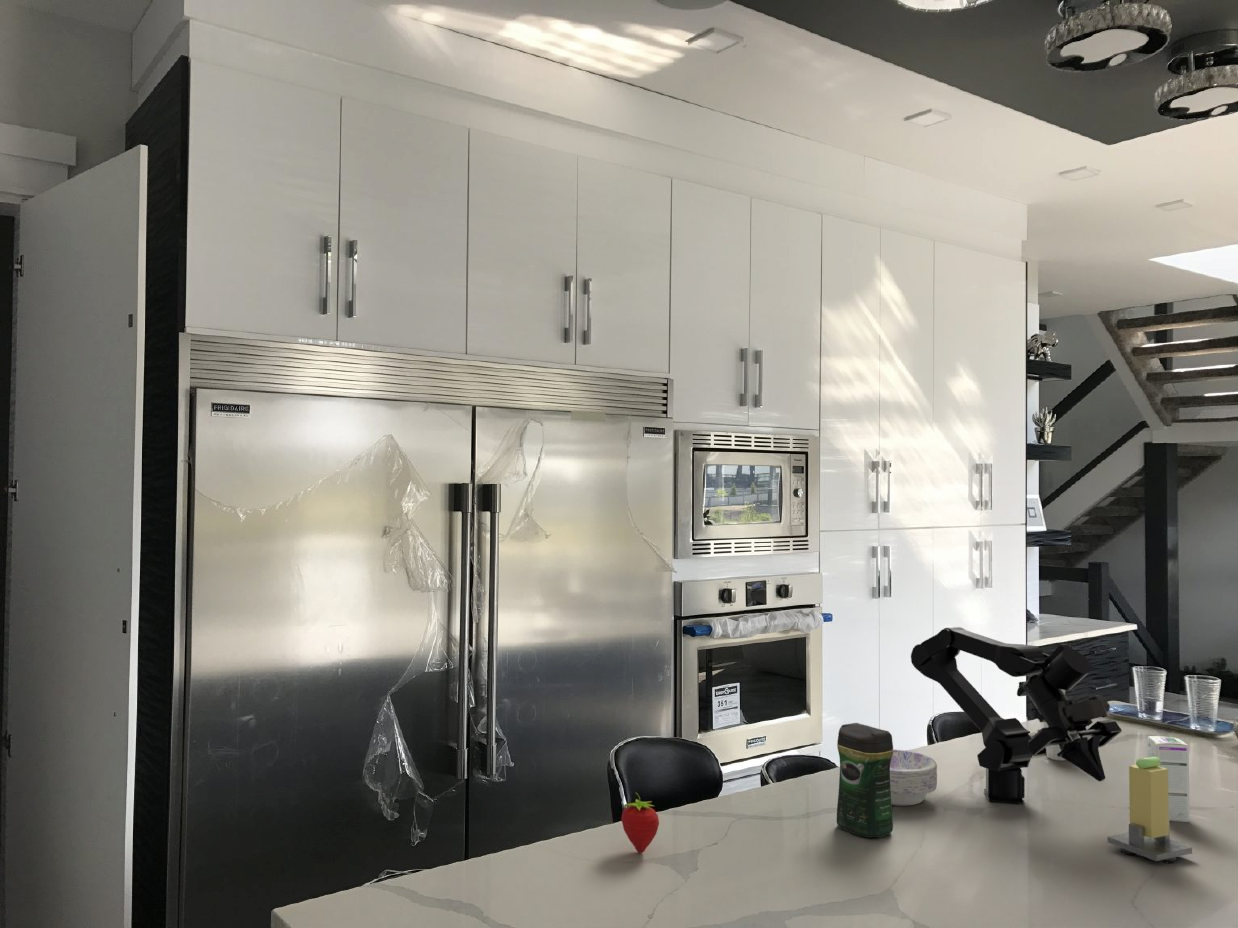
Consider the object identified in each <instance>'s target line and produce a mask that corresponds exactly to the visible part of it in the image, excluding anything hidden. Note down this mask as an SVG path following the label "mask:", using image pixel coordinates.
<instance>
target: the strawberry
mask: <svg viewBox="0 0 1238 928" xmlns="http://www.w3.org/2000/svg"><path fill="white" fill-rule="evenodd" d="M635 794H636V795H637V796H638V799H637V798H635V801H634V802H630V803H629V802H628V803H625V804H623V805H622V807H626V808H624V810H622V812H621V813H622V815H621V818H620V819H621V823H622V827H623V831H624V833H625V834H626V835H625V836H627V838H628V839H629V842H630V843H631V844H632V846H633V847H634V849H635V850H636V852H637V853H638V854H642V853H644V852H645V851H646V849H647V848H648V847H649V845H651V843H652V841H653V840H654V838H656V837H655V836H657V833H658V828H659V825H660V820H659V815H658V813H657V812H656V810H655V809H653V808H652V807H655V805H653V804H651V803H652V802H653V801H652V800H650V801H649V800H648V801H641V797H640V795H639V794H638V793H637V792H635Z"/></svg>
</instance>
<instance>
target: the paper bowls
mask: <svg viewBox="0 0 1238 928" xmlns="http://www.w3.org/2000/svg"><path fill="white" fill-rule="evenodd" d="M937 771H938V764H937V761H936V760H935V759H934V758H932V757H931V756H928V755H925V754H923V753H919V752H915V751H909V750H903V749H894V748H893V755H892V758H891V763H890V788H891V803H892V806H899V807H900V806H906V807H908V806H914V805H918V804H920V803H922V802H923V801H924V800H925V799H926V796H927V794H931V793H932V792H935V790H937V787H938V772H937Z"/></svg>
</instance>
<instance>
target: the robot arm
mask: <svg viewBox="0 0 1238 928" xmlns="http://www.w3.org/2000/svg"><path fill="white" fill-rule="evenodd" d="M960 652H964V653H967V654H970V655H973V656H976V657H978V658H980V659H985V660H987V661H989V662H992V663H993V664H995V665H996V667H997V668H998V669H999V670H1001V671H1002V672H1004V673H1006V674H1007V675H1009V676H1010V677H1013V678H1018V677H1019V678H1020V677H1021V678H1022V677H1027V676H1028V677H1029V678H1028V679H1027V680H1026V681H1025V680H1024V681H1019V682H1018V687H1017V691H1016V695H1017V697H1026V696H1027V697H1029V698H1030V700H1031V702H1032V703H1033V704H1034V706H1035V708H1036V709H1037V711H1038V713H1039V716H1037V719H1038V722H1039V723H1043V722H1046V723H1047V725H1048V726H1049V727H1046V728H1044V727H1042V728H1040V729H1039V731H1037V732H1036V733H1035V734H1034V735H1033V736H1031V735H1030V734H1031V731H1029V730H1028V729H1026V728H1025V727H1024V726H1023V724H1022V723H1021V721H1020V720H1018V718H1016V717H1011V718H1003V717H1002V716H1001V715H1000V714H999V713H998V712H997V711H996V710H995V709H994V707H992V706H991V704H990V703H988V701H987V699H985V698H984V696H982V695H981V693H980V692H979V691H978V690H977V689H976V688H975V687H974V686H973V685H972V684H971V682H970V681H969V680H968V679H967V678H966V677H965V675H963V673H961V671H960V670H959V668H958V664H957V658H956V657H957V656H959V654H960ZM910 662H911V665H912V666H913V667H914V668H915V670H916V671H918V672H919V673H920V674H921V675H923V676H924V677H926V678H928V679H929V680H930V679H931V680H932V681H935V682H936V683H938V684H939V685H940V686H941V687H942V688H943V689H944V691H946V693H947V694H948V695H949V696H950V697H951V698H952V699H953V701H954V702H955V703H956V704H957V706H959V708H960V709H961V710H962V711H963V712H964V713H965V714H966V716H967V717H968V718H969V719H970V720H971V722H972V723H973V724H974V725H975V726H976V727H977V729H979V731H980V732H981V736H982V741H983V742H982V743H983V745H984V746H983V747H984V749H982V750H981V751H979V753H978V754H977V761H978V766H980V767H982V768H983V769H985V788H983V792H984V794H985V796H986V798H987V800H988V801H989V802H999V803H1010V804H1021V805H1022V804H1024V799H1025V796H1026V795H1025V794H1026V793H1025V792H1026V791H1025V787H1026V786H1025V784H1026V783H1025V782H1026V781H1025V777H1024V774H1022V773H1023V772H1022V771H1023V770H1022V768H1029V765H1030V762H1031V760H1032V758H1033V757H1041V756H1045V755H1047V750H1046V746H1051V745H1059V746H1060V747H1059V748H1060V750H1061V751H1060V752H1059V753H1058V754H1057V756H1058V757H1062V758H1064V759H1065V760H1064V761H1067V762H1069V763H1070V764H1071V765H1074V766H1076V767H1077V768H1079V769H1080V770H1081V771H1083V772H1084V773H1085V774H1087V775H1089V776H1090V777H1092V778H1093V779H1094V780H1096V781H1097V782H1103V781H1104V780H1106V775H1105V770H1104V768H1103V764H1102V760H1101V756H1100V751H1099V748H1103V747H1104V746H1106V745H1107V744H1108V743H1110V741H1112V740H1114V739H1115V738H1116V737H1117V736H1118V735H1119V734H1121V733H1122V732H1123V731H1122V728H1121V727H1120V725H1119V724H1118V722H1117V721H1116V720H1113V719H1105V720H1097V721H1096V722H1095V723H1094V722H1093V720H1095V719H1098V718H1106V717H1108V712H1110V710H1111V706H1110V705H1111V704H1110V703H1108V701H1107V700H1106V698H1105V697H1104V696H1103V695H1102V694H1097V695H1094V696H1089V698H1088V700H1083V701H1080V702H1078V701H1077V700H1075V699H1068V697H1067V695H1066V693H1065V694H1064V693H1063V691H1062V690H1061V689H1063V690H1065V691H1070V690H1072V689H1073V687H1075V686H1076V685H1077V684H1078V683H1079V682H1080V681H1081V680H1083V679H1084V678H1085V677H1086V676H1087V675H1088V674H1090V673H1091V671H1092V665H1091V663H1090V661H1089V659H1088V658H1087V656H1084V655H1083V654H1082V653H1080V652H1079V651H1077V650H1076V649H1074V648H1072V647H1070V645H1069V644H1068V643H1065V644H1064V643H1063V644H1059V645H1058V646H1056V648H1055V650H1054V651H1053V652H1052V653H1050V655H1049V654H1047V653H1043V650H1042V649H1041V647H1038V646H1037V645H1032V644H1031V645H1030V644H1023V643H1006V642H1003V641H1000V640H997V639H994V638H990V637H988V636H984V635H981V634H979V633H975V632H972V631H969V630H967V629H965V628H963V627H961V626H954V627H945V628H942V629H941V630H940V631H938V633H937V634H935V635H933V636H931V637H930V638H927V639H925V640H924V641H922V642H921V643H919V644H918V643H917V644H916V645H914V646H913V647H912V650H911V653H910ZM1093 723H1094V724H1093ZM1091 724H1092V725H1091ZM1088 726H1090V727H1088ZM1087 727H1088V728H1087Z"/></svg>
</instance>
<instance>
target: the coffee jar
mask: <svg viewBox="0 0 1238 928" xmlns="http://www.w3.org/2000/svg"><path fill="white" fill-rule="evenodd" d="M837 735H838V737H837V741H836V742H837V743H836V745H837V751H838V756H839V780H838V781H839V782H838V783H839V784H838V795H837V806H836V823H837V826H838V827H839V828H840V829H843V830H844V831H847V832H849V833H852V834H855V835H858V836H860V837H864V838H883V837H886V836H888V835H890V834H891V833H893V829H894V828H893V827H894V826H893V825H894V820H893V819H894V818H893V817H894V816H893V807H892V806H893V805H892V803H891V788H890V763H891V758H892V755H893V749H894V743H893V736H892V734H891V732H890V731H888V730H885V729H881V728H877V727H873V726H871V725H867V724H863V723H859V722H853V723H845V724H842V725H841V726H840V728H839V730H838V734H837Z"/></svg>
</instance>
